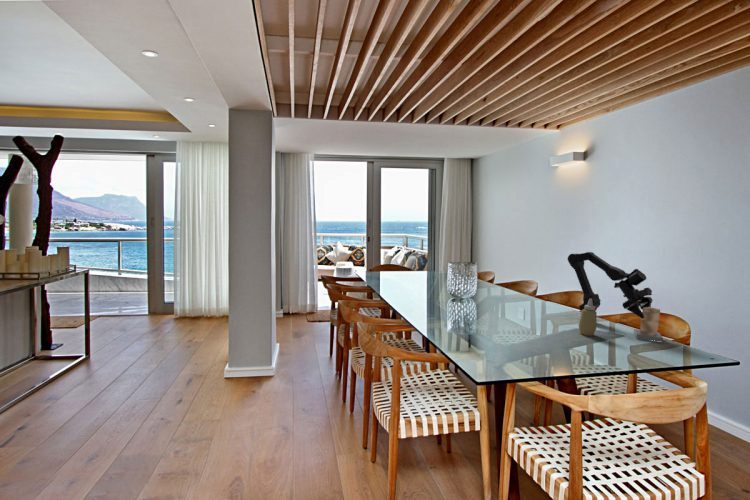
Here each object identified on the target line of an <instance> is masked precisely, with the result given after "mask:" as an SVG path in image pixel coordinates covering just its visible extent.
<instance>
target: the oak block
mask: <svg viewBox="0 0 750 500" xmlns="http://www.w3.org/2000/svg"><path fill="white" fill-rule="evenodd" d="M641 312H642V314H643V316H644V318H643V319H642V318H641V321H640V327H639V328H640V329H639V330H640V333H644V334H648V335H656V334H657V332H658V328H659V323H660V314H661V309H660V308H659V309H658V308H654V307H652V306H651V307H645V308H643V310H642V311H641Z"/></svg>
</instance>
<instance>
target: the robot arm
mask: <svg viewBox="0 0 750 500" xmlns="http://www.w3.org/2000/svg"><path fill="white" fill-rule="evenodd" d="M585 261H589V262H590V263H592V264H593V265H594V266H596V267H598V268H600V270H601V271H603V272H604V273H605V274H606V276H607V277H608V278H609V279H610V280H611V281H613V282H614V286H613V288H614V289H618V288H619V289H620V291H621V292H622V294H623V297H624V298H626V299H627V300H625V301H624V302H623V303H622V307H623V309H624V310H627V311H628V312H630V313H633V314H634V315H636V316H637V317H639V318H641V319H643V318H644V316H643V314H642V312H643V308H645V307H651V308H652V303H653V301H654V300H653V298H652V297H651V296H652V295H653V294H652V293H653V290H652V289H651V288H650V287H644V288H643V289H640V290H639V289H638V288H635V287H634V286H636V287H637V286H638V285H640V284H641V283H643V282H644V281H646V280H647V276H646V274H645V273H643V272H642V271H641V270H639V268H635V269H633V270H632V271H631V272H630V273H628V272H626V271H625V270H623V269H622V268H619V267H617V266H613V265H611V264H610V263H608V262H607V261H605V260H603V259H602V258H601V257H599V256H598V255H596V254H595V253H594V252H592V251H587V252H584V253H570V254H569V255H568V257H567V262H568V263H569V265H570V267H571V268H572V269H573V270H574V271H575V274H576V277H577V280H578V283H579V285H580V289H581V291H582V293H583V296H582V302H583V303H581V304H580V305H579V306H578V308H579V310H580V311H581V312H580V314H581V313H582V310H583V309H585V305H587V304H588V301H589V299H592V302H593V306H595V310H594V311H596V312H597V309H599V307H600V305H601V301H602V300H601V299H600V296H599V294H598V293H595V292H594V291H593V289H592V285H591V284H590V280H589V278H588V275H587V273H586V269H585ZM616 281H617V282H616Z"/></svg>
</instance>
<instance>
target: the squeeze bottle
mask: <svg viewBox="0 0 750 500" xmlns="http://www.w3.org/2000/svg"><path fill="white" fill-rule="evenodd" d="M594 310H595V306H593V302H592V299H589V301H588V304H587V305H585V309H583V310H582V313H581V312H580V318H579V322H578V330H579V334H581V335H583V336H587V337H588V336H594V334H595V332H596V331H597V310H596V311H594Z"/></svg>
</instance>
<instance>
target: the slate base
mask: <svg viewBox="0 0 750 500" xmlns="http://www.w3.org/2000/svg"><path fill="white" fill-rule="evenodd" d="M633 336H634V337H635V339H636V340H639V339H640V340H641V341H646V340H653V341H654V340H655V341H663V342H664V337H663V336H662V334H661V333H660V332H658V331H657V334H656V335H648V334H644V333H640V329H637V328H633ZM640 340H639V341H640Z"/></svg>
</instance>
